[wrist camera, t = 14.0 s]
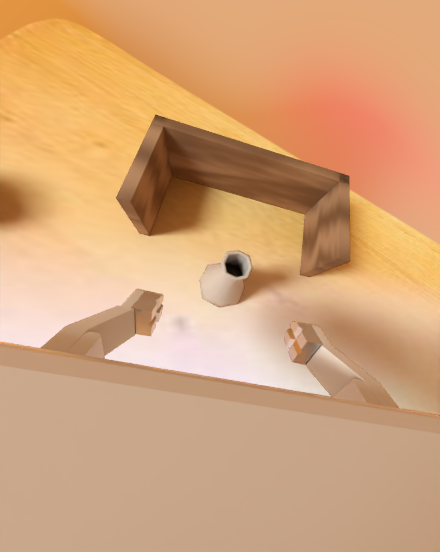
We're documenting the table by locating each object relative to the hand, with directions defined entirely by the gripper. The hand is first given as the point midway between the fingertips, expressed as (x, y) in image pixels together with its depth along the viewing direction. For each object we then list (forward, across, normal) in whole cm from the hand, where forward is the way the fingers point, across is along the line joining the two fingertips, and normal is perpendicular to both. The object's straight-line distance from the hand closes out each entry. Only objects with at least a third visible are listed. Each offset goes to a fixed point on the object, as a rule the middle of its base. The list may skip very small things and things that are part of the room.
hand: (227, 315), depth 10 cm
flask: (+15, -1, +7) cm, 16 cm away
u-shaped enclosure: (+23, -1, -2) cm, 23 cm away
